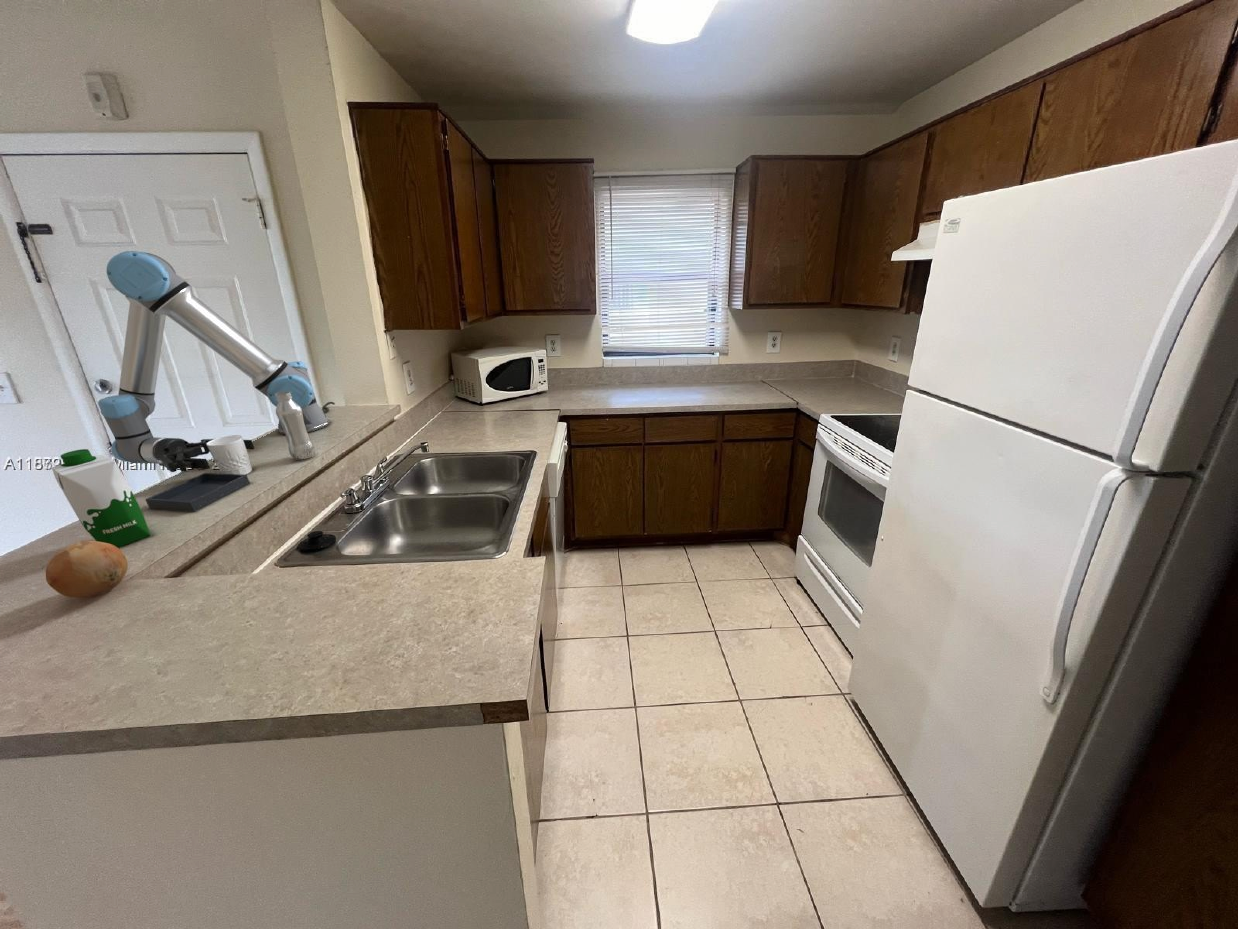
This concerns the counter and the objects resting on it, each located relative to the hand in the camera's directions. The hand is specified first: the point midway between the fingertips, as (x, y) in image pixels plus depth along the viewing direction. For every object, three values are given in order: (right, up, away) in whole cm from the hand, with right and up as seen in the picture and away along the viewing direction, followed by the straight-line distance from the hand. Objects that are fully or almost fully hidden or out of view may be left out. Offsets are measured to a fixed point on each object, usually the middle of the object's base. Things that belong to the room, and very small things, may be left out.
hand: (230, 453), depth 130 cm
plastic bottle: (+13, -1, +11) cm, 17 cm away
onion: (+13, -26, -44) cm, 53 cm away
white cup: (0, -6, +3) cm, 6 cm away
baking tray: (+1, -11, -10) cm, 14 cm away
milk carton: (0, -19, -28) cm, 34 cm away
